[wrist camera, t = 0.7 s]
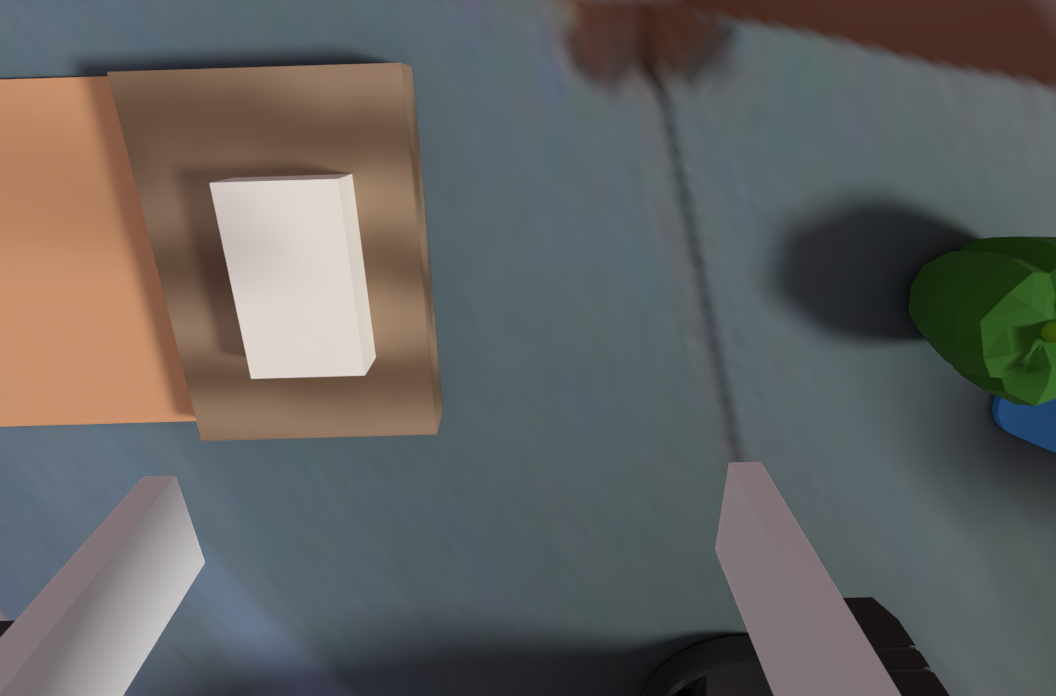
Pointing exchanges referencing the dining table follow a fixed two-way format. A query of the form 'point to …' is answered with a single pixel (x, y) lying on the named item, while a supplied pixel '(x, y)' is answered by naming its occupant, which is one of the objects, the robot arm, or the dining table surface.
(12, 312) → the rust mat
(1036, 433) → the handheld gaming device
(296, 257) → the cream block
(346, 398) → the board
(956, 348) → the bell pepper
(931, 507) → the dining table surface
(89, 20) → the dining table surface
